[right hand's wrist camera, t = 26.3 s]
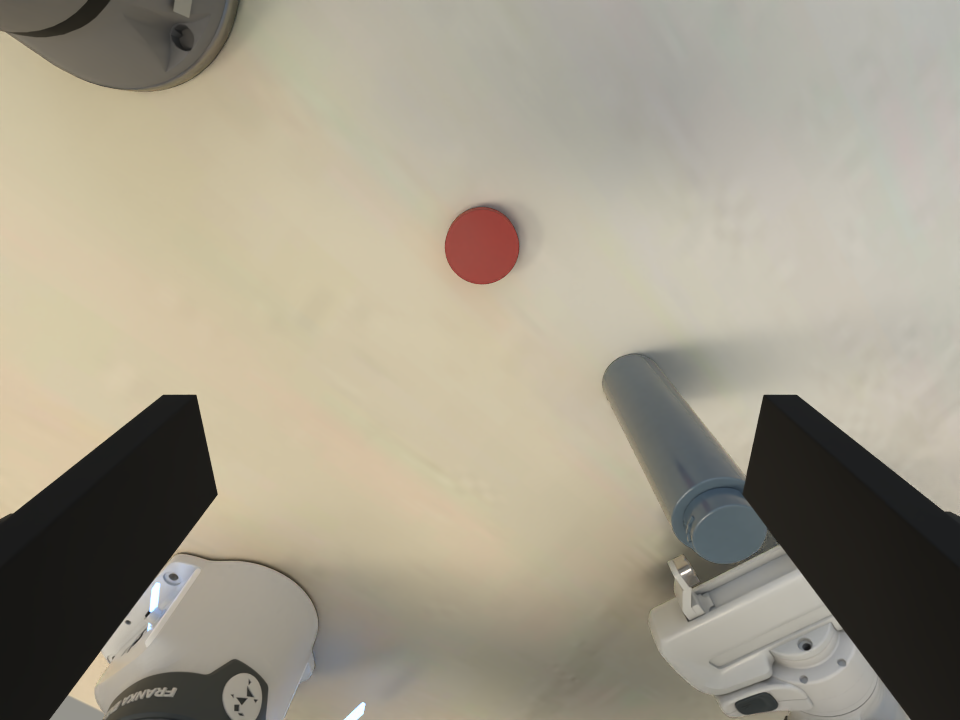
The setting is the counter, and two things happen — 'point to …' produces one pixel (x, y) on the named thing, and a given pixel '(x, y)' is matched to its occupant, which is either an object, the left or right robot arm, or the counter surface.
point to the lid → (482, 245)
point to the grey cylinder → (683, 463)
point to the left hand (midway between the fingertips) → (732, 535)
